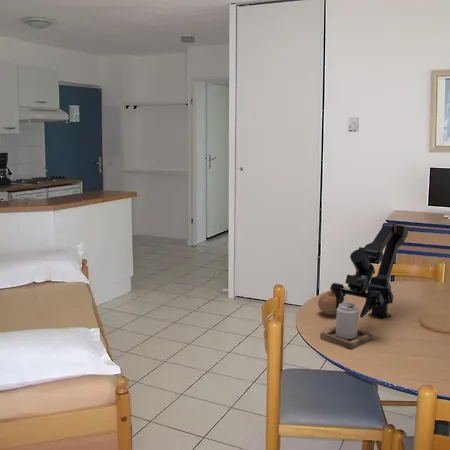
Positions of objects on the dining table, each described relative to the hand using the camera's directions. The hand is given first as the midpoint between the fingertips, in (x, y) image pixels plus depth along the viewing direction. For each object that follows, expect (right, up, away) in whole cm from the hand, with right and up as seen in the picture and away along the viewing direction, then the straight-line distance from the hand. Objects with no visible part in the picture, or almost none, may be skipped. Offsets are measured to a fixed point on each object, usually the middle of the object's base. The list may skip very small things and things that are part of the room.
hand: (348, 314), depth 193 cm
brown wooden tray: (-1, -9, +1) cm, 9 cm away
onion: (-2, -4, +25) cm, 26 cm away
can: (-1, -8, +1) cm, 8 cm away
